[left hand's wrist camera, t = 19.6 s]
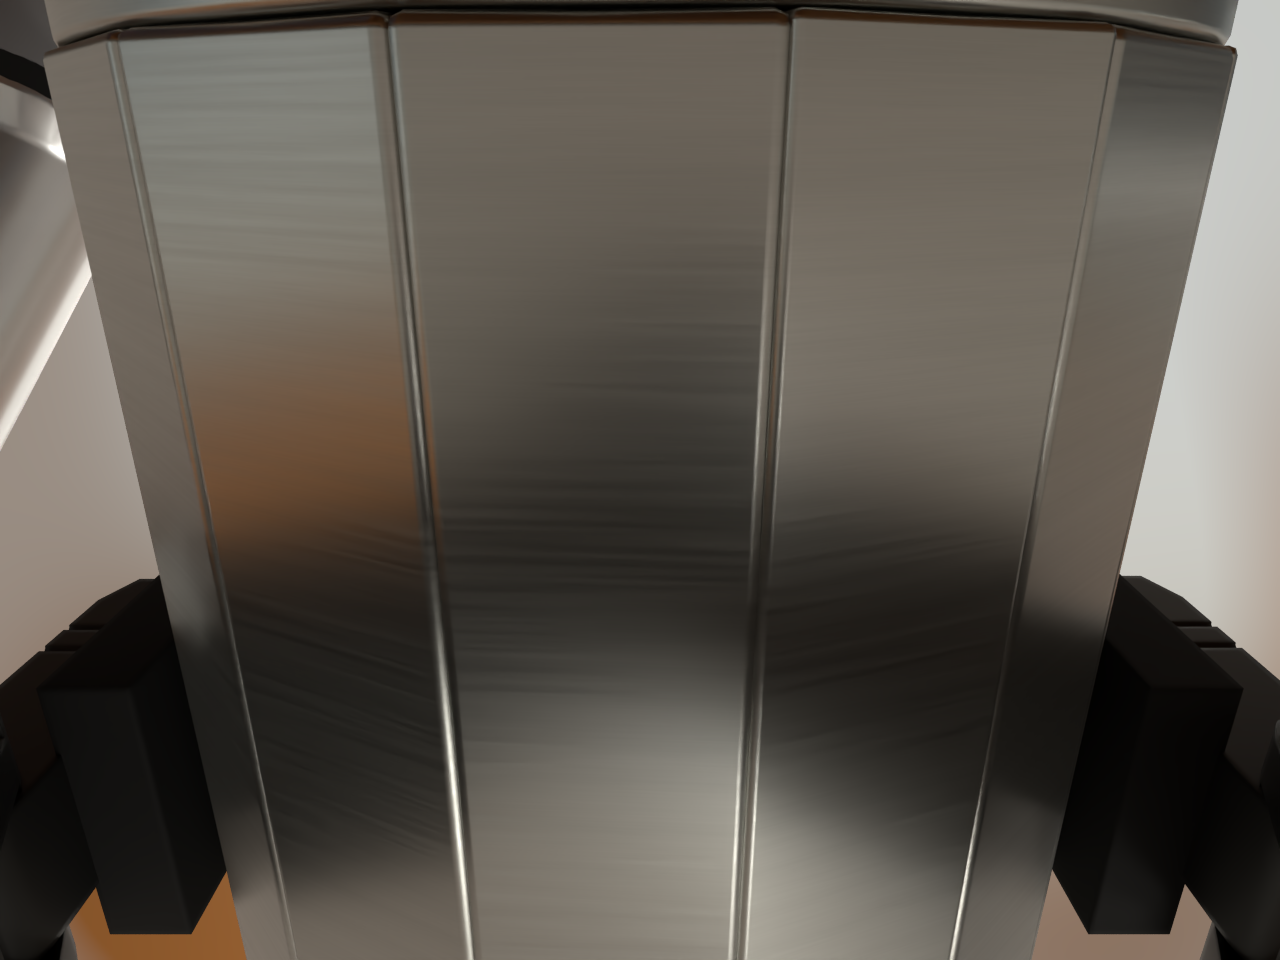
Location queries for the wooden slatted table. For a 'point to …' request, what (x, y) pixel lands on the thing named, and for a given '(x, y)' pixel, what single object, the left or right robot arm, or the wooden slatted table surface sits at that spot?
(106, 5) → the cup
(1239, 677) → the left robot arm
